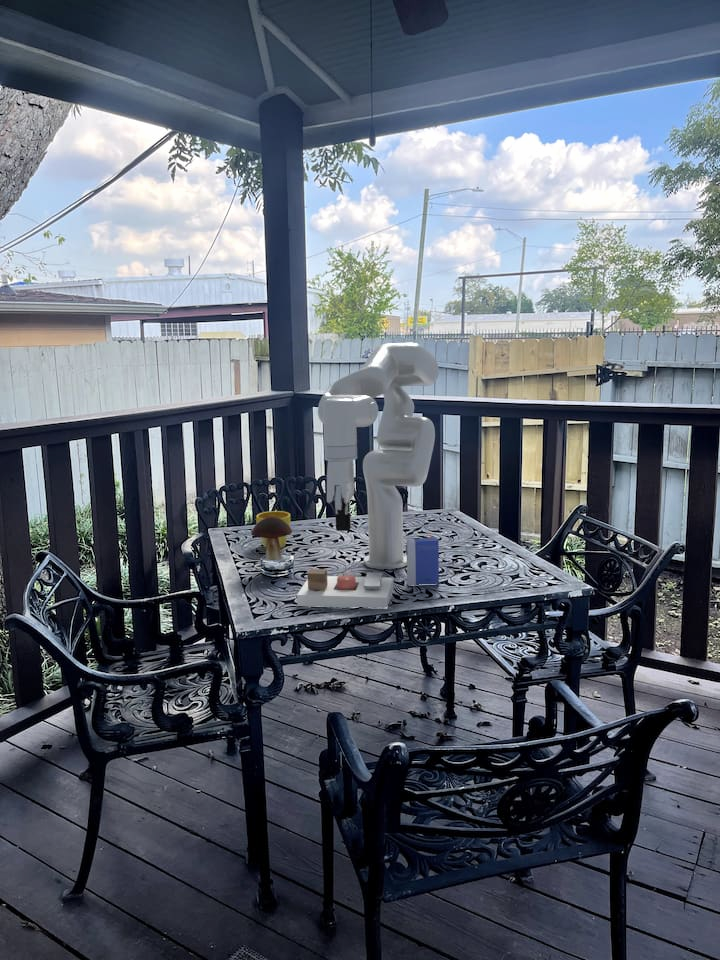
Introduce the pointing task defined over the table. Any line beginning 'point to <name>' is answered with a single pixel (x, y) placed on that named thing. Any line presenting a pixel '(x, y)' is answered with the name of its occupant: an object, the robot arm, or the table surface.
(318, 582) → the walnut slider
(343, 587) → the red button
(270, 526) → the decorative mushroom
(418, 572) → the walkman
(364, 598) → the control panel
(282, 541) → the plant pot
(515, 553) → the table surface
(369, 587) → the grey rocker
